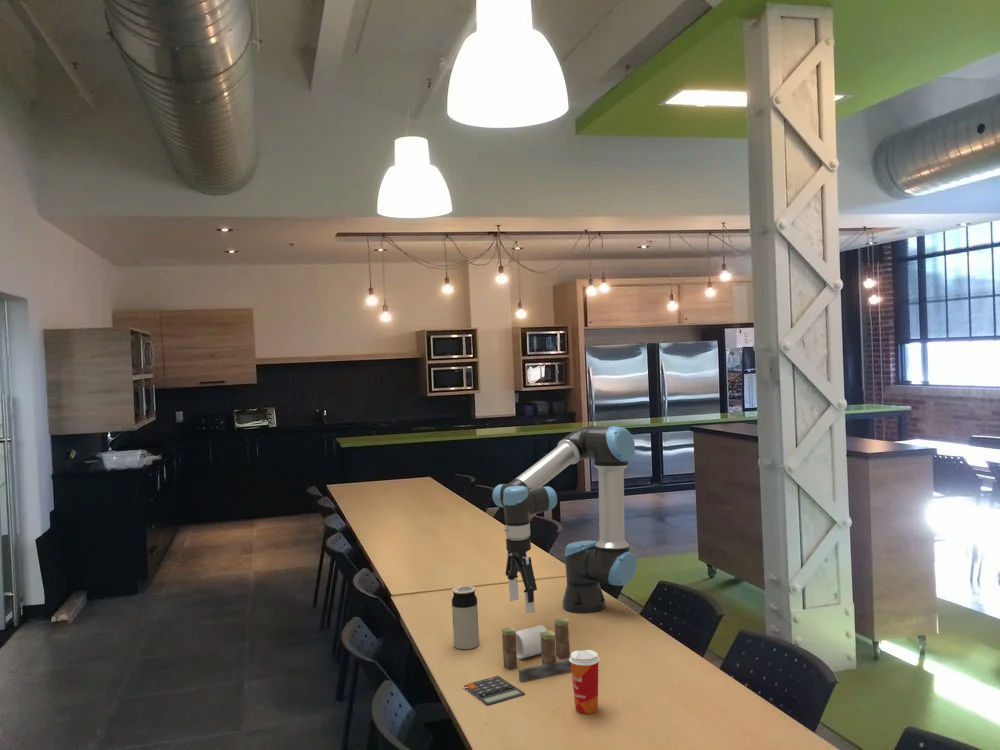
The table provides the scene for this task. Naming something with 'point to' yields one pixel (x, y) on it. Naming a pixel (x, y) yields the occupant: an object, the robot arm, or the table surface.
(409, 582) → the table surface
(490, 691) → the calculator
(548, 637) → the header dock
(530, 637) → the mug
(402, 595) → the table surface
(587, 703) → the paper cup
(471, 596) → the travel mug
